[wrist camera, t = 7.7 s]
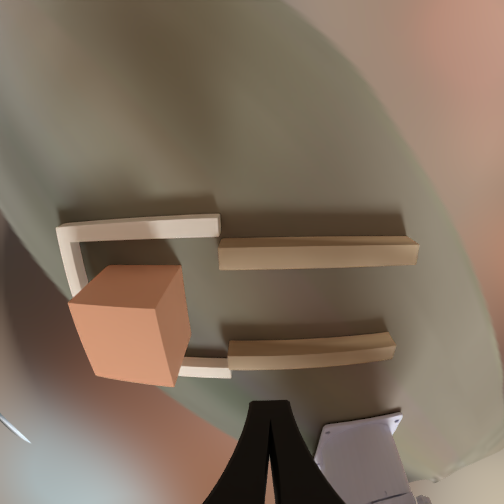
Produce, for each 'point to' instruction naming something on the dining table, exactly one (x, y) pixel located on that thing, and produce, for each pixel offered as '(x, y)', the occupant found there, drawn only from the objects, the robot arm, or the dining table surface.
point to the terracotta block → (134, 323)
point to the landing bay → (140, 229)
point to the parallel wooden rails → (302, 257)
